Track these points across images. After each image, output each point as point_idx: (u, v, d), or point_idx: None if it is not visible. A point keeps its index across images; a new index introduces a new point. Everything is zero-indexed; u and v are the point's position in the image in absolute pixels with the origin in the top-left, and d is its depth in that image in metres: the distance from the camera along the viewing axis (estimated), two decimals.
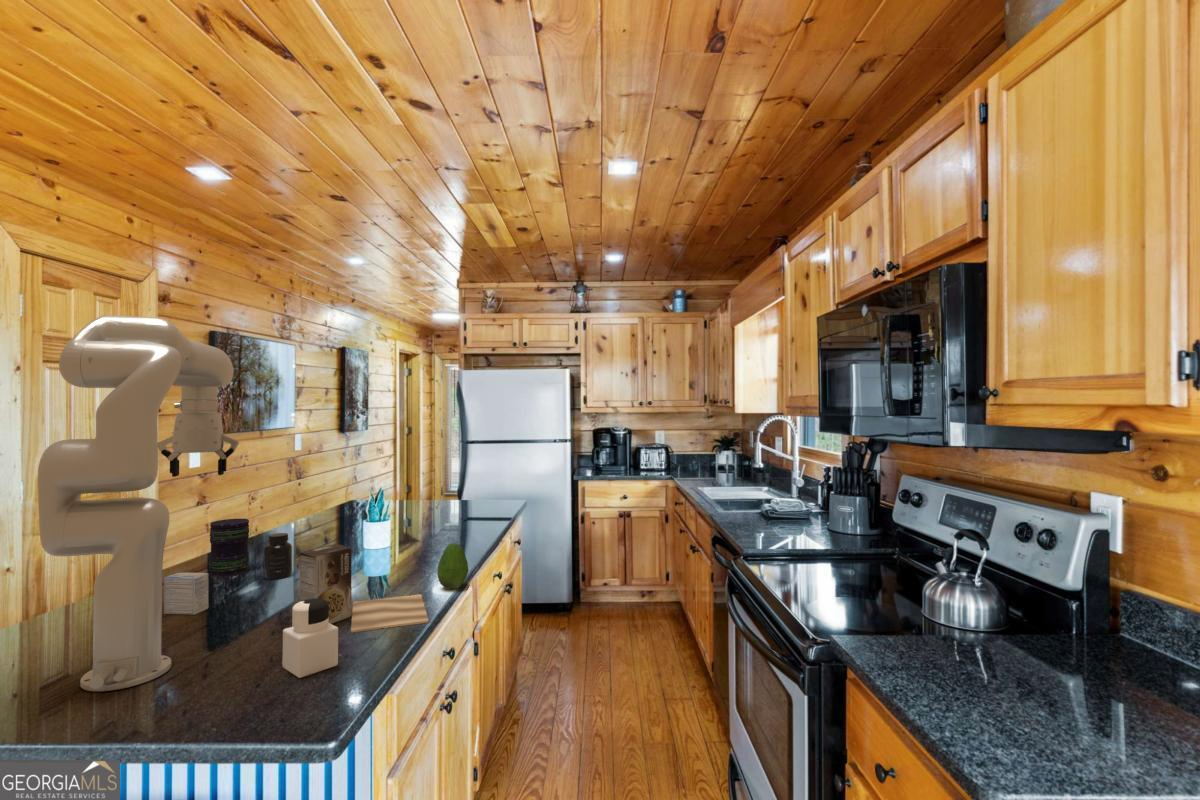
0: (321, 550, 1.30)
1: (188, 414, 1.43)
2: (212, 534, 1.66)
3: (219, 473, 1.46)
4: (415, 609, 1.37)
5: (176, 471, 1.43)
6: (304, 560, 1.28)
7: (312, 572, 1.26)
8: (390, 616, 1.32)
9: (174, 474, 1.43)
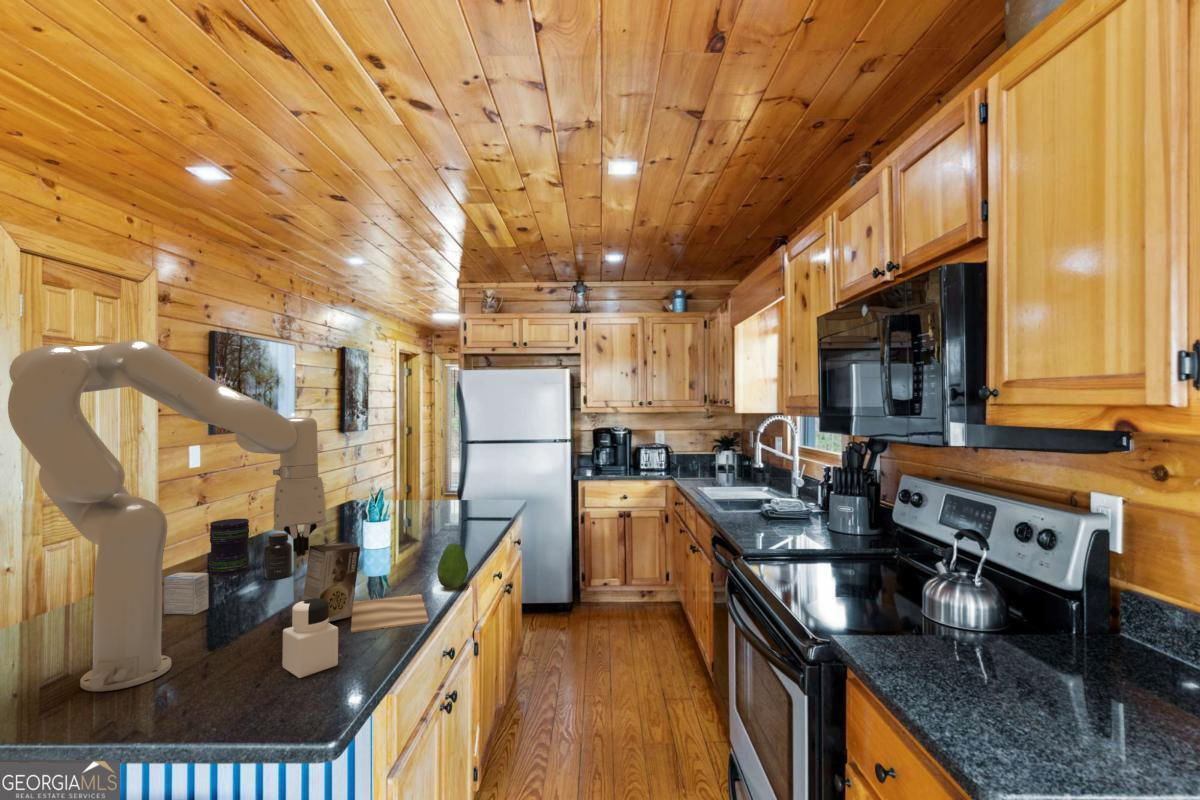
0: (331, 546, 1.31)
1: (289, 482, 1.26)
2: (212, 534, 1.66)
3: (302, 553, 1.28)
4: (415, 609, 1.37)
5: (300, 549, 1.29)
6: (313, 554, 1.29)
7: (320, 567, 1.27)
8: (390, 616, 1.32)
9: (299, 553, 1.28)
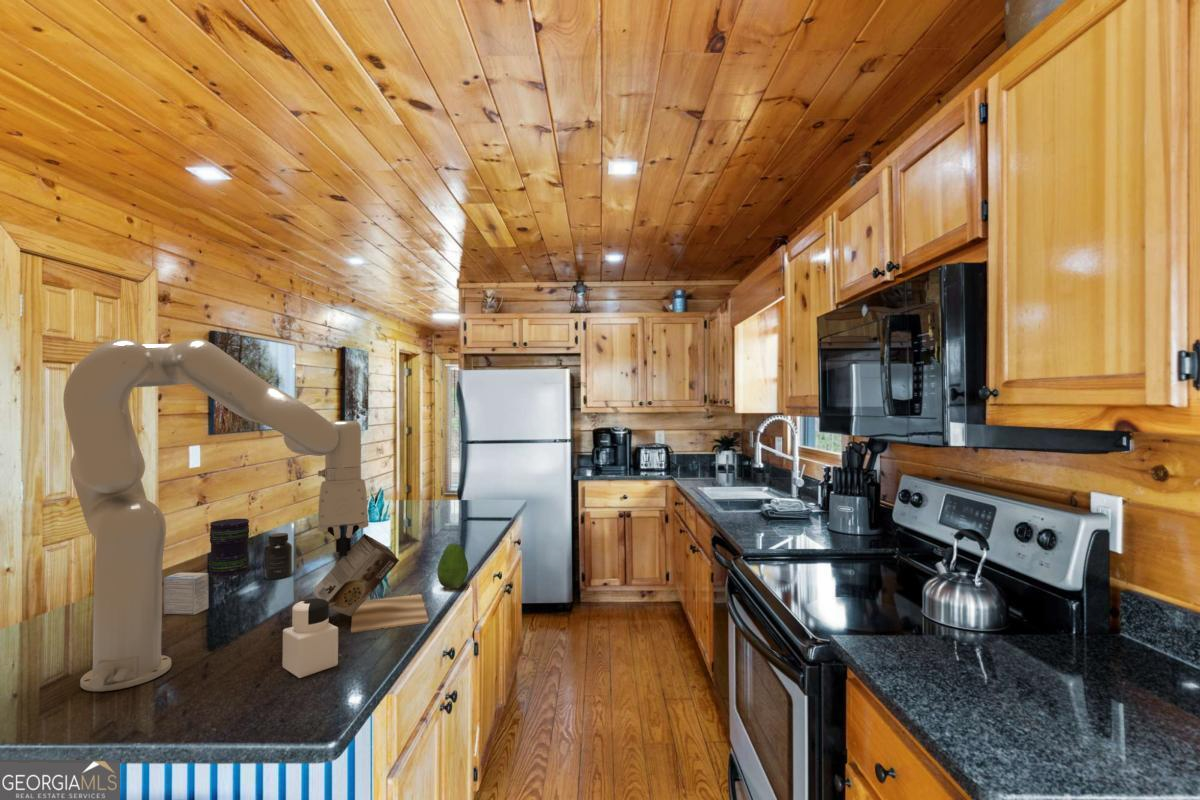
0: (379, 545, 1.35)
1: (334, 483, 1.30)
2: (212, 534, 1.66)
3: (345, 554, 1.31)
4: (415, 609, 1.37)
5: (342, 550, 1.32)
6: (363, 543, 1.32)
7: (362, 558, 1.30)
8: (390, 616, 1.32)
9: (341, 554, 1.31)
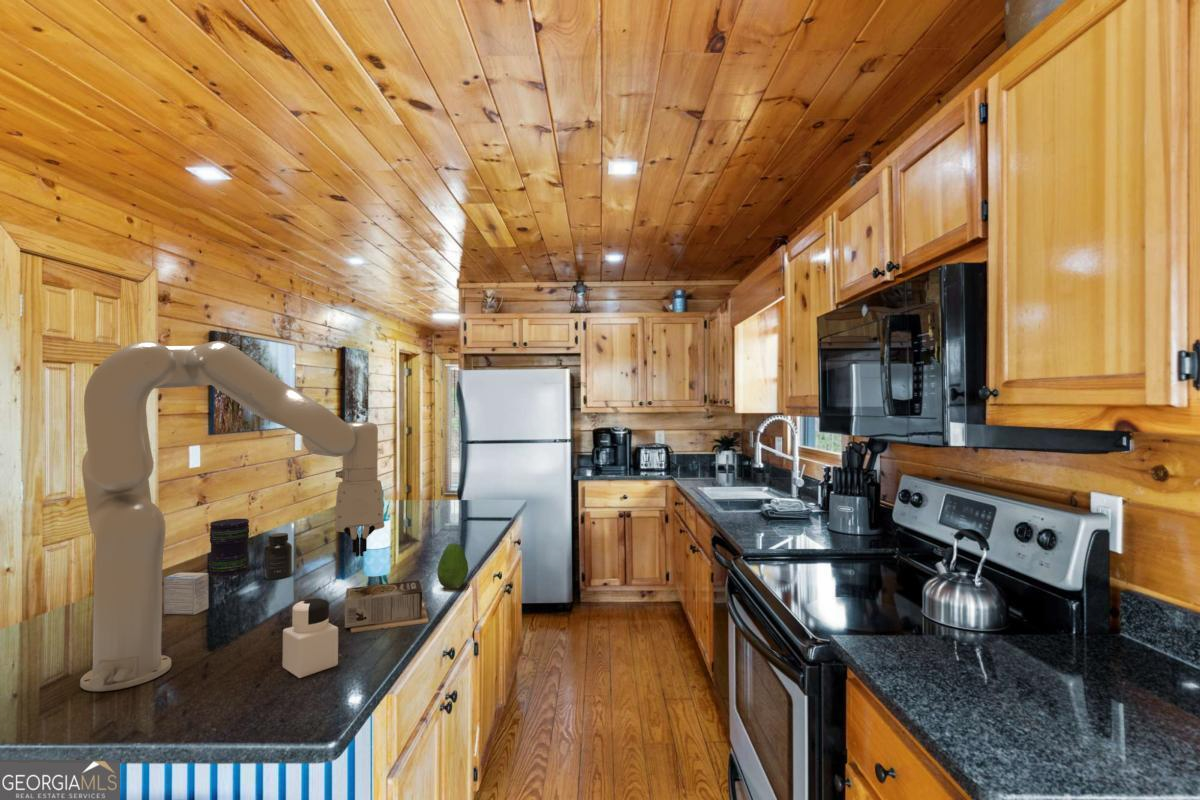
0: None
1: (351, 484, 1.31)
2: (212, 534, 1.66)
3: (361, 554, 1.32)
4: None
5: None
6: (415, 601, 1.30)
7: (404, 615, 1.29)
8: None
9: (358, 554, 1.32)
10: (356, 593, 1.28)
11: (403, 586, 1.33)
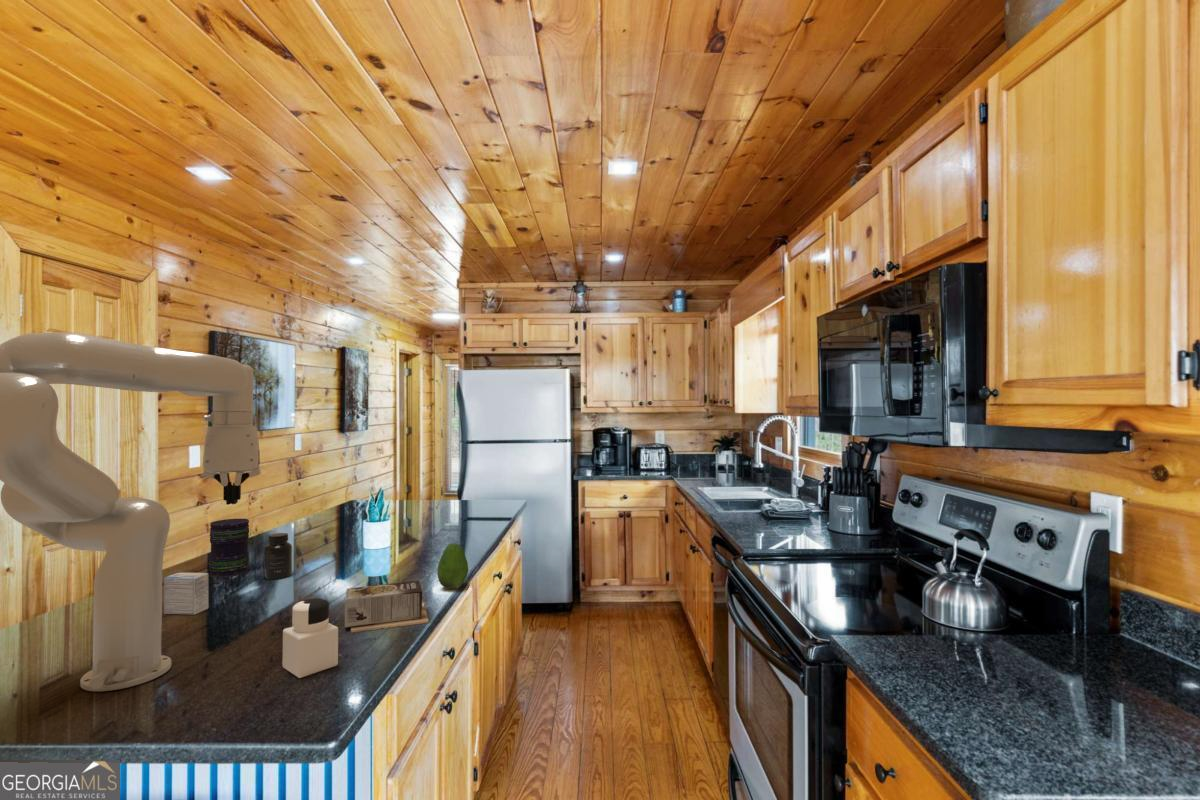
0: None
1: (221, 428, 1.24)
2: (212, 534, 1.66)
3: (232, 502, 1.26)
4: None
5: None
6: (414, 600, 1.30)
7: (404, 615, 1.29)
8: None
9: (228, 502, 1.25)
10: (356, 593, 1.28)
11: (403, 586, 1.33)
